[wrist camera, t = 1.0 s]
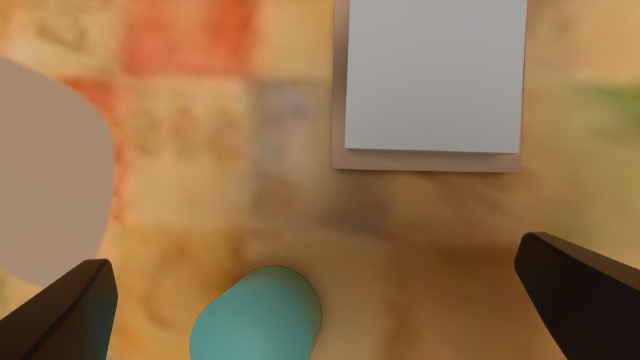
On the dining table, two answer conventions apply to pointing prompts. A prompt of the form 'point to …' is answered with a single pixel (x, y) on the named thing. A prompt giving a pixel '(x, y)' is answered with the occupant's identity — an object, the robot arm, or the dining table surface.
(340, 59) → the walnut base block
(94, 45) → the dining table surface
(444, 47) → the slate top block
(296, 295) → the teal drum
